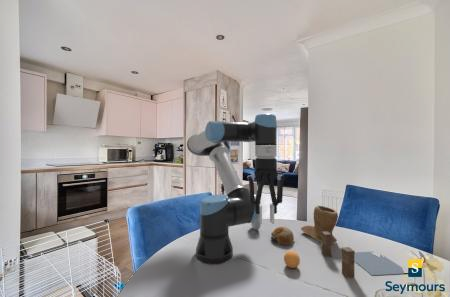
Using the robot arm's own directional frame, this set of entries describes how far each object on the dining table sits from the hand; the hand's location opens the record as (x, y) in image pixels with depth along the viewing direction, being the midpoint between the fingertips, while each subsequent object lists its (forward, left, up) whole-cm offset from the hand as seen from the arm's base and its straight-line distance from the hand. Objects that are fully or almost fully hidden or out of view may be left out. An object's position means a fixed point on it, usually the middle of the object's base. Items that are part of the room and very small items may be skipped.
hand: (266, 222), depth 72 cm
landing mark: (+42, 0, -17) cm, 45 cm away
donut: (+4, +33, -17) cm, 37 cm away
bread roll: (+13, +20, -17) cm, 29 cm away
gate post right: (+27, -6, -17) cm, 32 cm away
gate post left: (+27, +6, -17) cm, 32 cm away
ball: (+10, 0, -14) cm, 17 cm away
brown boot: (+33, +21, -17) cm, 42 cm away
